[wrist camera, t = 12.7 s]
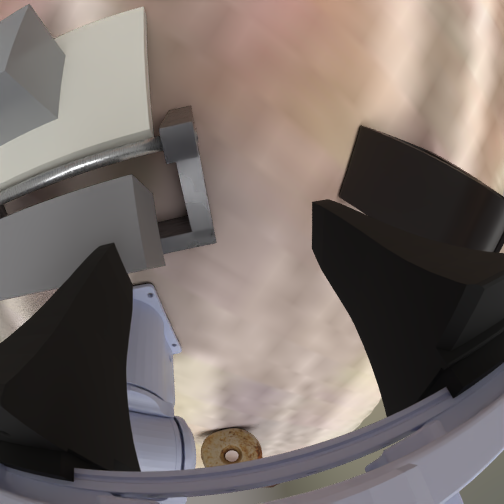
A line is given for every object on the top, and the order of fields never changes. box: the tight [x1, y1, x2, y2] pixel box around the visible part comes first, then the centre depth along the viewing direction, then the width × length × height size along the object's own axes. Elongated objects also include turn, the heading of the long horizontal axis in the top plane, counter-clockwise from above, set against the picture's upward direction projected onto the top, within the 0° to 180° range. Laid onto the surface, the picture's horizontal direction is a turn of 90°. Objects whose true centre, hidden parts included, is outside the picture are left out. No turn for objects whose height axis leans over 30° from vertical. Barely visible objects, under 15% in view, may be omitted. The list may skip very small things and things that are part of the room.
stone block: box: [0, 4, 66, 146], centre depth 8 cm, size 4×4×5 cm
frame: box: [0, 106, 216, 254], centre depth 15 cm, size 9×18×7 cm, turn 96°
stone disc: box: [201, 428, 262, 468], centre depth 40 cm, size 10×4×10 cm, turn 91°
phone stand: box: [339, 125, 504, 253], centre depth 17 cm, size 9×6×12 cm, turn 78°
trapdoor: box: [0, 7, 165, 301], centre depth 13 cm, size 15×14×4 cm
